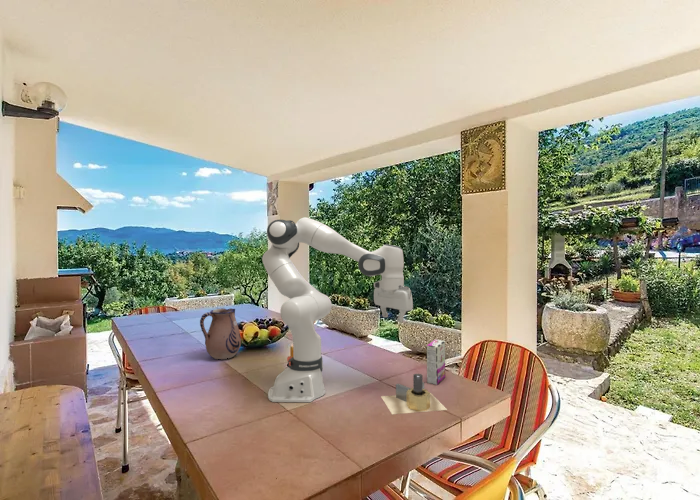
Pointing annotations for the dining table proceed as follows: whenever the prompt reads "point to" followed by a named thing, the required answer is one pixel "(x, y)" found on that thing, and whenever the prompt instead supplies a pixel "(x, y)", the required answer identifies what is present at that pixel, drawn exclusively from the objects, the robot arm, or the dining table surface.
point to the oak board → (401, 406)
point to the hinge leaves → (413, 398)
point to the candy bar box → (435, 362)
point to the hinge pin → (418, 384)
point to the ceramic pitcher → (221, 333)
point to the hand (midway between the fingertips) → (392, 318)
